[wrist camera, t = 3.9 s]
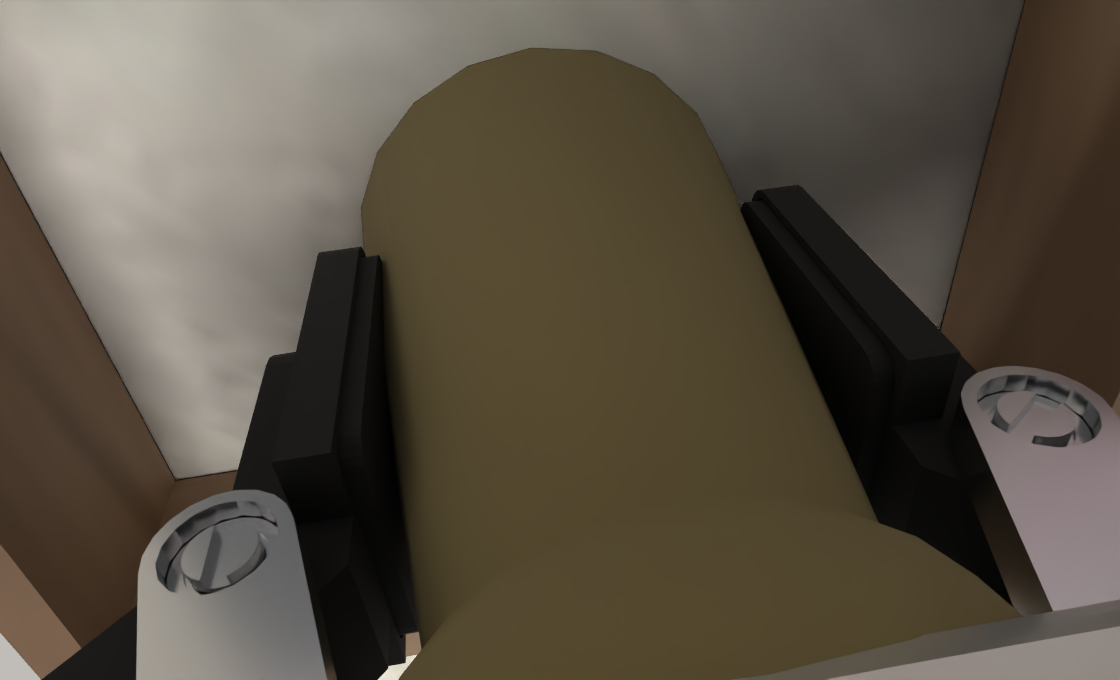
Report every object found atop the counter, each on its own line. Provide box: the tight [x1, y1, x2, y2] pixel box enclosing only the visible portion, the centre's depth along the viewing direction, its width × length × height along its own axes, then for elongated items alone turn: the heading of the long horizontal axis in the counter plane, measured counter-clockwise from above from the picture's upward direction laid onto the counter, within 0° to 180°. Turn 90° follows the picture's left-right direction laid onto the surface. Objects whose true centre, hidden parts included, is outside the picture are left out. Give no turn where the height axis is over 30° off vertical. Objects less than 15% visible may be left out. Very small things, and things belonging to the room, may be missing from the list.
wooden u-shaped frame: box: [0, 0, 1120, 679], centre depth 11 cm, size 17×10×4 cm, turn 95°
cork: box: [361, 48, 1024, 680], centre depth 8 cm, size 6×6×11 cm
